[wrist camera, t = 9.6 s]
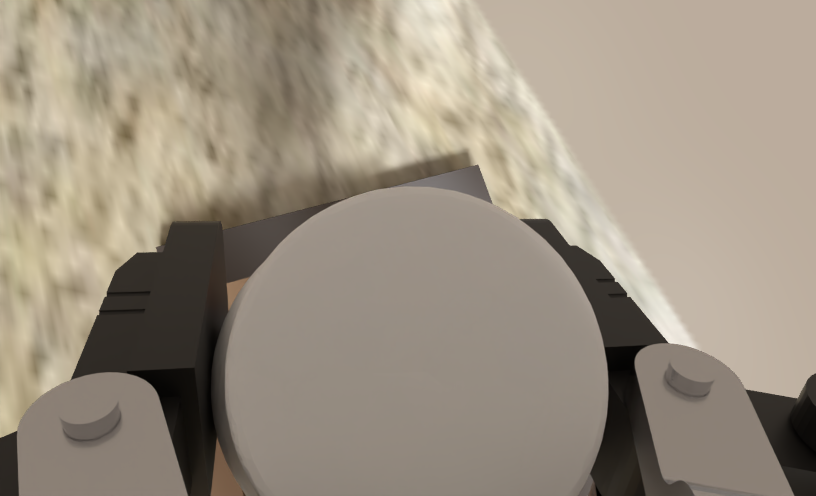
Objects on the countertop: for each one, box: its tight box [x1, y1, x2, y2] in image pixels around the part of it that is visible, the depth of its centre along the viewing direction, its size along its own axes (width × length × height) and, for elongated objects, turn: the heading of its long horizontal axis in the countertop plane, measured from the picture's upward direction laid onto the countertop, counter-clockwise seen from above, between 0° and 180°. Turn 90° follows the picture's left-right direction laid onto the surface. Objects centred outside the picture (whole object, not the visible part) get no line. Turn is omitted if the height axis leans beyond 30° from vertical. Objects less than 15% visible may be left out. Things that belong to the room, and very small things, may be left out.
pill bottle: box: [211, 186, 608, 496], centre depth 10 cm, size 5×5×8 cm
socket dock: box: [156, 165, 593, 496], centre depth 23 cm, size 13×14×4 cm
